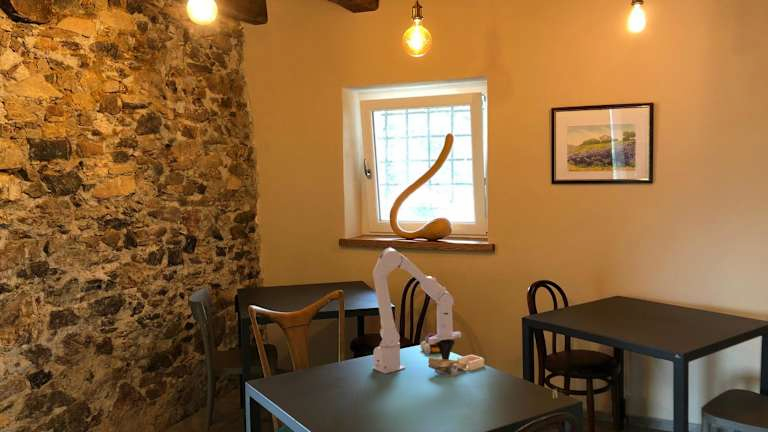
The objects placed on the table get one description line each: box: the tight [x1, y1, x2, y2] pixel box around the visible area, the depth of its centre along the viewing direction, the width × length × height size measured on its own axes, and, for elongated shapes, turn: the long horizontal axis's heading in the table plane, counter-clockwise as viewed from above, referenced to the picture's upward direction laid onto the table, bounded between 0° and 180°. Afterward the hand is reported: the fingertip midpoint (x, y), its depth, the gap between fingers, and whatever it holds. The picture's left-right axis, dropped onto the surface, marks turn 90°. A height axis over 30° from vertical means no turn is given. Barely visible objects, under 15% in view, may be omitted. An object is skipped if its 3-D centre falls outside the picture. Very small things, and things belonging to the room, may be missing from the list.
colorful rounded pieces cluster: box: [420, 332, 440, 355], centre depth 248 cm, size 8×10×7 cm
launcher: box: [427, 357, 467, 371], centre depth 224 cm, size 14×12×3 cm
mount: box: [434, 363, 462, 378], centre depth 221 cm, size 5×9×4 cm, turn 35°
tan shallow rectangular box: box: [456, 354, 485, 372], centre depth 227 cm, size 9×6×3 cm
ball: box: [469, 355, 478, 361], centre depth 229 cm, size 3×3×3 cm
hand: (445, 359), depth 230 cm, fingers closed
